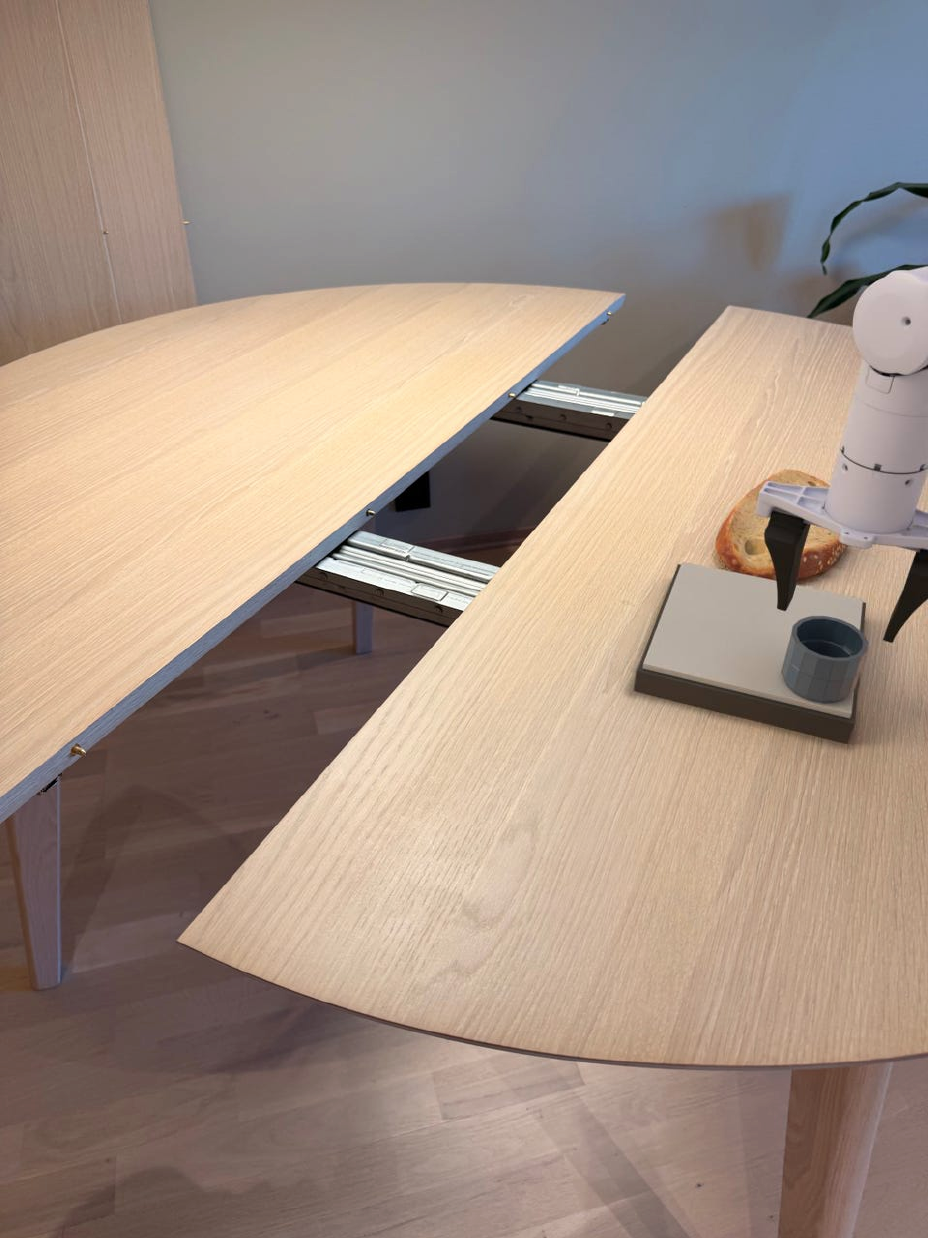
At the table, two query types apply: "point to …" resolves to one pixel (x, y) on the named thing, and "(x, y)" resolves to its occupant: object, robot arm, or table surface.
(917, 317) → the robot arm
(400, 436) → the table surface
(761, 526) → the slice of bread
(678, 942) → the table surface
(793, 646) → the cup
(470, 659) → the table surface
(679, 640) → the scale
